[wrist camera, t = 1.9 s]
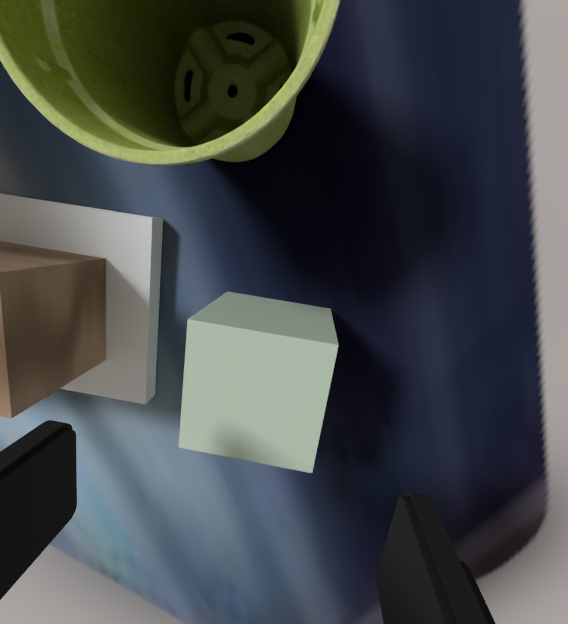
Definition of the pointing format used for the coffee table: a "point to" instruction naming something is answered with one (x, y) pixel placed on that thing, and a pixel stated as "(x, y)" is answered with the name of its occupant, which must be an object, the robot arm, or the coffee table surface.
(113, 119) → the plant pot
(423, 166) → the coffee table surface
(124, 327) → the board
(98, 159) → the coffee table surface
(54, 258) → the walnut cube
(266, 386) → the sage block
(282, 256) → the coffee table surface
